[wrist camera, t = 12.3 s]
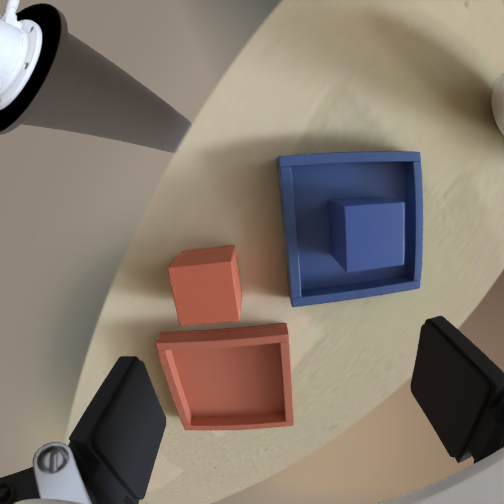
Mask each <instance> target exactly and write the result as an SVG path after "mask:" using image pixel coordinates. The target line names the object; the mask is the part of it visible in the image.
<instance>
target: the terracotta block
mask: <svg viewBox="0 0 504 504" xmlns="http://www.w3.org/2000/svg"><path fill="white" fill-rule="evenodd" d="M168 273H169V278H170V283H171V288H172V293H173V298H174V302H175V307H176V311H177V316H178V320H179V324H180V325H188V324H204V323H218V322H231V321H239V320H240V314H241V303H242V290H241V283H240V275H239V268H238V260H237V252H236V246H235V245H234V246H225V247H216V248H206V249H197V250H188V251H182V252H181V253H180V254H179V255H178V256H177V258H176V259H175V260H174V261H173V262H172V263H171V264H170V265H169V266H168Z"/></svg>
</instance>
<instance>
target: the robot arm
mask: <svg viewBox="0 0 504 504" xmlns="http://www.w3.org/2000/svg"><path fill="white" fill-rule="evenodd" d="M18 4H19V0H8V1H7V4H6V7H5V11H4V16H3V15H1V14H0V110H1V109H3V108H5V107H6V106H7V105H9V104H10V103H11V102H12V101H13V100H14V99H15V98H16V97H17V95H18V94H19V93H20V91H21V90H22V89H23V87H24V86H25V84H26V83H27V81H28V80H29V78H30V76H31V74H32V72H33V70H34V68H35V65H36V63H37V60H38V57H39V54H40V50H41V45H42V32H41V29H40V27H39V25H38V24H37V23H35V22H33V21H31V20H21V21H16V20H17V16H16V15H15V13H16V11H17V8H18ZM411 392H412V394H413V396H414V397H415V399H416V400H417V402H418V404H419V405H420V407H421V408H422V410H423V412H424V413H425V415H426V416H427V418H428V420H429V421H430V423H431V425H432V426H433V428H434V430H435V431H436V433H437V435H438V436H439V438H440V440H441V441H442V443H443V445H444V447H445V448H446V450H447V452H448V453H449V455H450V456H451V457H455V459H456V460H457V462H458V463H460V462H462V461H464V460H466V459H468V458H470V457H471V456H473V458H474V464H473V465H471V466H469V467H467V468H465V469H463V470H461V471H459V472H457V473H455V474H453V475H451V476H448V477H446V478H444V479H442V480H440V481H437V482H435V483H433V484H430V485H428V486H425V487H423V488H420V489H418V490H415V491H412V492H410V493H407V494H405V495H401V496H398V497H395V498H392V499H389V500H386V501H383V502H379V503H376V504H504V373H503V371H502V370H501V369H500V368H499V367H498V366H496V365H495V364H494V363H493V362H492V361H491V360H490V359H489V358H488V357H487V356H486V355H485V354H484V353H483V352H482V351H481V350H480V349H479V348H478V347H476V346H475V345H474V344H473V343H472V342H471V341H470V340H469V339H468V338H467V337H465V336H464V335H463V334H462V333H461V332H460V331H459V330H458V329H457V328H455V327H454V326H453V325H452V324H451V323H450V322H449V321H447V320H446V319H445V318H444V317H443V316H438V317H434V318H430V319H427V320H426V321H425V324H423V325H422V327H421V331H420V338H419V344H418V350H417V356H416V361H415V366H414V371H413V376H412V381H411ZM165 427H166V417H165V414H164V412H163V410H162V407H161V405H160V403H159V400H158V398H157V395H156V393H155V390H154V388H153V385H152V383H151V380H150V378H149V375H148V372H147V370H146V367H145V364H144V362H143V361H139V359H138V358H137V357H136V356H121V357H120V358H119V359H118V360H117V362H116V363H115V365H114V366H113V368H112V369H111V371H110V372H109V374H108V376H107V377H106V379H105V380H104V382H103V383H102V385H101V387H100V388H99V390H98V391H97V393H96V394H95V396H94V398H93V399H92V401H91V403H90V404H89V406H88V407H87V409H86V411H85V412H84V414H83V416H82V417H81V419H80V421H79V422H78V424H77V426H76V427H75V429H74V431H73V432H72V434H71V436H70V437H69V440H70V443H69V445H68V446H67V445H66V444H64V443H61V442H51V443H47V444H45V445H43V446H42V447H41V448H39V449H38V450H37V452H36V453H35V455H34V458H33V467H31V468H29V469H26V470H23V471H20V472H17V473H14V474H11V475H8V476H5V477H2V478H0V504H138V503H139V500H140V499H143V498H144V497H145V494H146V490H147V487H148V483H149V480H150V476H151V473H152V470H153V466H154V463H155V459H156V456H157V453H158V449H159V446H160V443H161V440H162V436H163V433H164V430H165Z"/></svg>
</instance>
